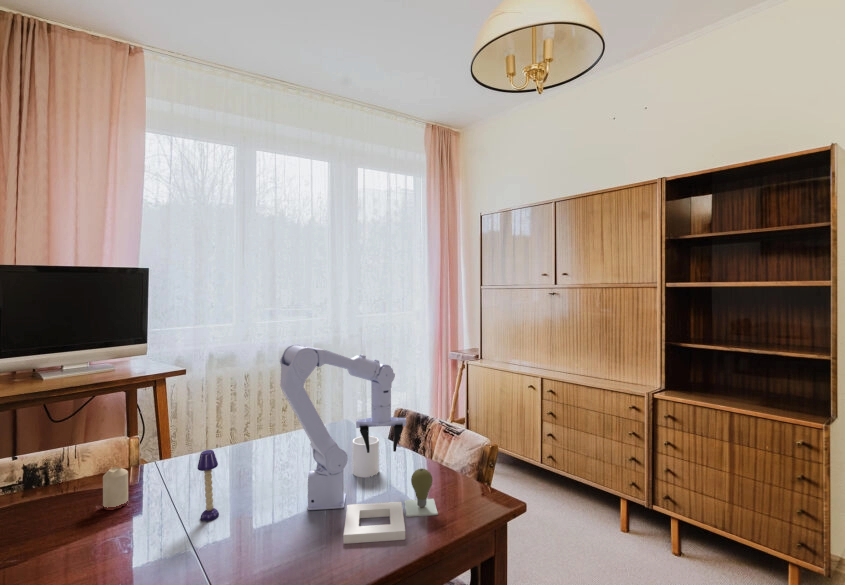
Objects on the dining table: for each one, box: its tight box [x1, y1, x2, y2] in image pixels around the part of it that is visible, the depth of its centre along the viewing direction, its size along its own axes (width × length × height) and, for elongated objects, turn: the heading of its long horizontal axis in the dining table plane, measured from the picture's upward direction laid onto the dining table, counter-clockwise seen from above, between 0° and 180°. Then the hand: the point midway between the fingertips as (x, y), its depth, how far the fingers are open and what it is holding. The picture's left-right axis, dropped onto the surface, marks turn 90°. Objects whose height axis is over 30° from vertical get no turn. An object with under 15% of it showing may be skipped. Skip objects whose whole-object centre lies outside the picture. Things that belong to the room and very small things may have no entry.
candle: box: [102, 466, 129, 508], centre depth 116 cm, size 6×6×10 cm
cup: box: [352, 435, 380, 478], centre depth 139 cm, size 8×12×10 cm
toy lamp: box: [197, 449, 220, 522], centre depth 110 cm, size 5×5×17 cm
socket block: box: [343, 501, 406, 545], centre depth 106 cm, size 14×14×2 cm
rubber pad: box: [404, 498, 439, 518], centre depth 114 cm, size 8×8×1 cm
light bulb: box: [410, 468, 433, 508], centre depth 114 cm, size 6×6×10 cm
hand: (381, 451), depth 127 cm, fingers open, 7 cm apart
